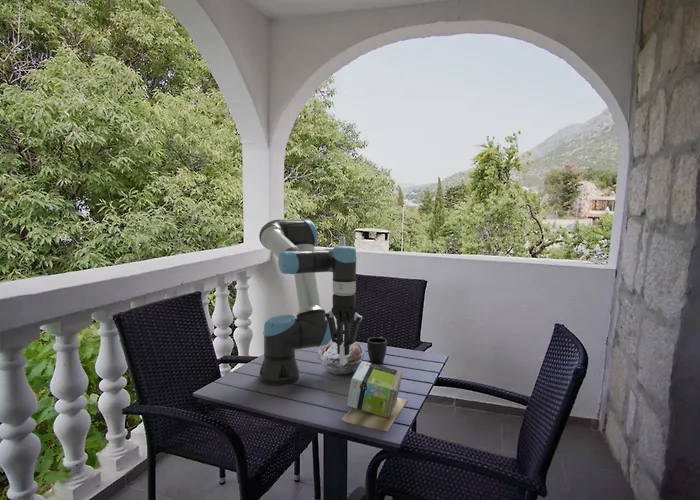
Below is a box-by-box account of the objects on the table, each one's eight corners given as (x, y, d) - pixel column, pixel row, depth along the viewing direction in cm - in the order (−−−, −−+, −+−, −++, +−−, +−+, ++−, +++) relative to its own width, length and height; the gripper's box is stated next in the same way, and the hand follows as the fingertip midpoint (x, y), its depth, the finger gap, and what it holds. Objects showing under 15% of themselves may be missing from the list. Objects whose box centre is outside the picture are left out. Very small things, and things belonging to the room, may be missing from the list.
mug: (391, 357, 184) (391, 336, 183) (382, 366, 173) (383, 344, 172) (373, 354, 187) (373, 333, 186) (364, 363, 176) (364, 341, 175)
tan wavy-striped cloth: (340, 420, 128) (340, 419, 128) (366, 392, 148) (366, 391, 148) (387, 431, 122) (387, 430, 122) (407, 400, 142) (407, 399, 142)
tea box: (345, 406, 132) (391, 420, 128) (350, 377, 130) (397, 390, 127) (357, 386, 146) (398, 398, 143) (361, 359, 145) (403, 370, 141)
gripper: (321, 293, 135) (320, 364, 137) (358, 297, 130) (357, 370, 132) (331, 290, 142) (330, 357, 144) (366, 293, 137) (365, 363, 139)
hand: (343, 363), depth 138 cm, fingers closed
